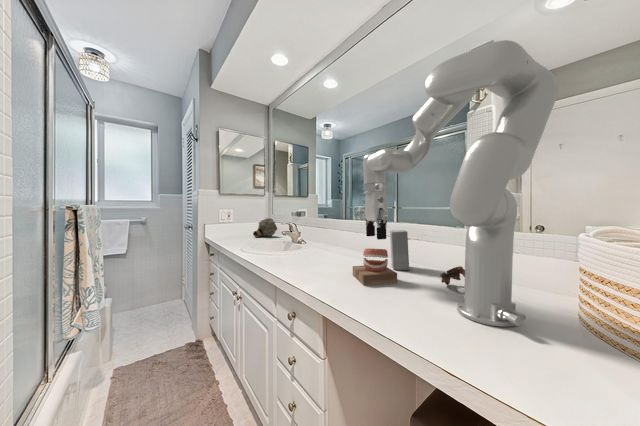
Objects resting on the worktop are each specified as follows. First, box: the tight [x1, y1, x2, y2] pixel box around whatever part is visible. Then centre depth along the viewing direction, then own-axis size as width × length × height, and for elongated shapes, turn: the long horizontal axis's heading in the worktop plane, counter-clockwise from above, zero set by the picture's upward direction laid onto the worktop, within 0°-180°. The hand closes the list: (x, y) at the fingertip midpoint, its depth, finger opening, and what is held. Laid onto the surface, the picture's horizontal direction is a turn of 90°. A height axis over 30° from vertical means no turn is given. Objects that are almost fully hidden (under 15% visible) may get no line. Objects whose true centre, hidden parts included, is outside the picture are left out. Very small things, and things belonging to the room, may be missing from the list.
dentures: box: [362, 247, 389, 272], centre depth 89 cm, size 9×7×8 cm
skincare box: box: [389, 229, 410, 271], centre depth 104 cm, size 8×7×16 cm
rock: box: [252, 217, 278, 239], centre depth 200 cm, size 18×14×15 cm
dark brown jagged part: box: [440, 265, 465, 286], centre depth 80 cm, size 12×10×8 cm
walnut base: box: [352, 265, 398, 287], centre depth 90 cm, size 12×12×4 cm
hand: (375, 237), depth 88 cm, fingers open, 9 cm apart
